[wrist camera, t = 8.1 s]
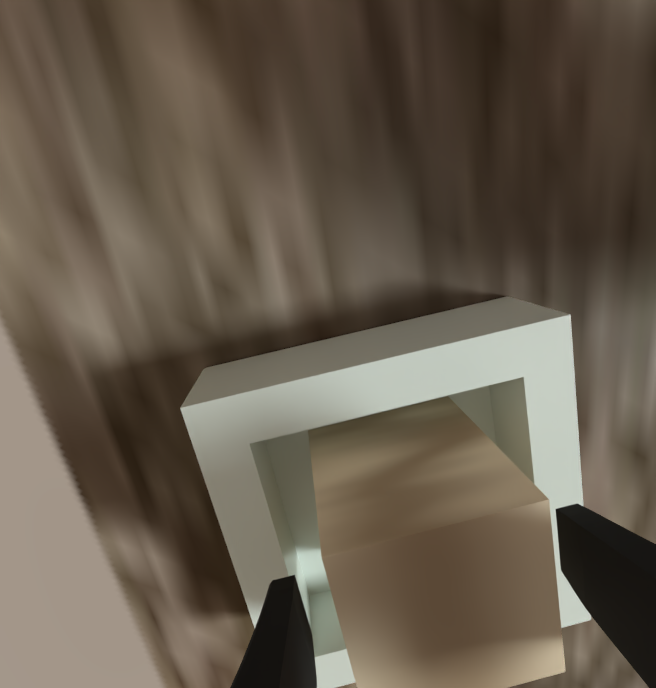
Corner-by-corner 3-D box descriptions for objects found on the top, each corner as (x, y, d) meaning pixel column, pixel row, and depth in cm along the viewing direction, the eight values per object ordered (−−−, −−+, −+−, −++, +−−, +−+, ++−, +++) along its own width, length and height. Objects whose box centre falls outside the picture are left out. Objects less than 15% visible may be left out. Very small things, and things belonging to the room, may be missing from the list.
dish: (507, 296, 15) (570, 314, 12) (534, 548, 18) (591, 619, 15) (204, 368, 15) (180, 408, 12) (280, 613, 18) (279, 702, 15)
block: (447, 396, 15) (549, 499, 9) (466, 515, 16) (565, 671, 11) (308, 430, 15) (321, 557, 9) (338, 548, 16) (367, 725, 10)
